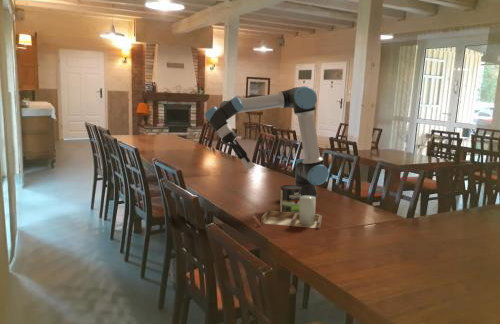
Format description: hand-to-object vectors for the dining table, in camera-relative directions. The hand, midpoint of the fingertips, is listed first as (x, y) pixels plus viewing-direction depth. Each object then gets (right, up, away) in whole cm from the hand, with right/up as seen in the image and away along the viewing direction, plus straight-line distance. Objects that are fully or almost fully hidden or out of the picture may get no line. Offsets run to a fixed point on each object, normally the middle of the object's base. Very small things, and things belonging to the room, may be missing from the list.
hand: (251, 167), depth 204 cm
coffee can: (+19, -23, -8) cm, 31 cm away
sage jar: (+25, -25, -26) cm, 44 cm away
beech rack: (+18, -25, -24) cm, 39 cm away
